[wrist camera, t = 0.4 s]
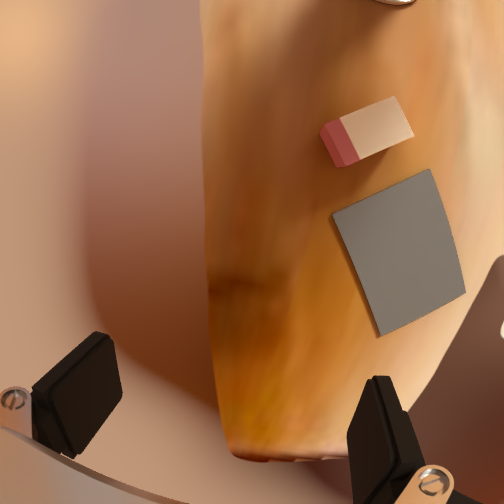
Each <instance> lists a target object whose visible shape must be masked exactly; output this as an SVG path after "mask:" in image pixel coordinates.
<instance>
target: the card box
mask: <svg viewBox="0 0 504 504" xmlns="http://www.w3.org/2000/svg"><path fill="white" fill-rule="evenodd" d="M319 135H320V137H321V138H322V140H323V142H324V144H325V146H326V148H327V150H328V152H329V154H330V156H331V158H332V160H333V162H334V164H335V166H336V168H339V167H346V166H348V165H351V164H353V163H355V162H357V161H359V160H361V159H363V158H365V157H368V156H370V155H372V154H374V153H377V152H379V151H381V150H383V149H386V148H388V147H390V146H392V145H395V144H397V143H399V142H402V141H404V140H406V139H409V138H411V137H413V136H414V134H413V132H412V130H411V128H410V126H409V124H408V121H407V119H406V117H405V115H404V113H403V111H402V109H401V107H400V105H399V104H398V102H397V100H396V98H395V96H392V97H389V98H387V99H384V100H382V101H379V102H376V103H374V104H371V105H369V106H367V107H364V108H362V109H359V110H357V111H354V112H352V113H350V114H347V115H345V116H343V117H340V118H337V119H335V120H333V121H331V122H328V123H326V124H324V126H323V128H322V129H321V131H320V133H319Z"/></svg>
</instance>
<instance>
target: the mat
mask: <svg viewBox="0 0 504 504" xmlns="http://www.w3.org/2000/svg"><path fill="white" fill-rule="evenodd" d="M332 216H333V218H334V220H335V223H336V225H337V227H338V229H339V232H340V234H341V236H342V238H343V241H344V243H345V245H346V248H347V250H348V252H349V255H350V257H351V260H352V262H353V264H354V267H355V269H356V272H357V274H358V277H359V279H360V282H361V284H362V287H363V289H364V292H365V294H366V297H367V300H368V302H369V305H370V308H371V310H372V313H373V316H374V318H375V321H376V324H377V327H378V329H379V332H380V335H381V336H383V335H385V334H387V333H389V332H391V331H393V330H396V329H398V328H400V327H402V326H404V325H406V324H408V323H410V322H412V321H414V320H416V319H418V318H420V317H422V316H424V315H426V314H428V313H430V312H432V311H434V310H435V309H437V308H439V307H441V306H443V305H445V304H446V303H448V302H450V301H452V300H454V299H455V298H457V297H459V296H461V295H462V294H464V293H466V291H465V286H464V281H463V276H462V271H461V267H460V263H459V259H458V255H457V251H456V247H455V243H454V239H453V236H452V232H451V229H450V226H449V222H448V219H447V216H446V213H445V209H444V206H443V203H442V200H441V198H440V195H439V192H438V189H437V186H436V184H435V181H434V178H433V176H432V173H431V170H430V169H427V170H425V171H423V172H421V173H418V174H416V175H414V176H412V177H410V178H408V179H406V180H403V181H401V182H399V183H397V184H395V185H393V186H391V187H389V188H386V189H384V190H382V191H380V192H378V193H376V194H374V195H371V196H369V197H367V198H365V199H363V200H361V201H359V202H356V203H354V204H352V205H350V206H348V207H346V208H344V209H341V210H339V211H337V212H335V213H333V214H332Z"/></svg>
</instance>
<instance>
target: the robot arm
mask: <svg viewBox="0 0 504 504" xmlns="http://www.w3.org/2000/svg"><path fill="white" fill-rule="evenodd" d="M376 1H379V2H382V3H387V4H394V5H402V4H408V3H411V2H413V1H415V0H376ZM32 390H33V391H32V392H31V393H29V391H28V390H26V389H25V388H22V387H10V388H8V389H5V390H4V391H2V392H1V394H0V504H188V503H184V502H180V501H176V500H173V499H169V498H166V497H163V496H159V495H156V494H153V493H150V492H147V491H144V490H141V489H138V488H135V487H133V486H130V485H127V484H125V483H122V482H119V481H117V480H114V479H112V478H109V477H107V476H105V475H102V474H100V473H98V472H95V471H93V470H91V469H89V468H87V467H85V466H82V465H80V464H78V463H76V462H74V461H72V460H70V459H68V458H66V457H64V456H62V455H60V454H61V452H62V454H64V455H66V456H67V457H69V458H71V459H74V458H75V457H76V455H77V454H81V453H82V452H83V451H84V449H85V448H86V447H87V445H88V444H89V442H90V441H91V440H92V438H93V437H94V436H95V434H96V433H97V431H98V430H99V429H100V427H101V426H102V425H103V423H104V422H105V420H106V419H107V418H108V416H109V415H110V414H111V412H112V411H113V410H114V408H115V407H116V405H117V404H118V403H119V401H120V400H121V398H122V393H123V392H122V387H121V382H120V377H119V371H118V366H117V360H116V354H115V348H114V342H113V340H112V339H111V338H110V336H109V335H108V334H104V333H101V332H97V331H95V332H93V333H92V334H91V335H90V336H89V337H87V338H86V339H85V340H84V341H83V342H82V343H80V344H79V345H78V346H77V347H76V348H75V349H74V350H72V351H71V352H70V353H69V354H68V355H67V356H65V357H64V358H63V359H62V360H61V361H60V362H59V363H58V364H56V365H55V366H54V367H53V368H52V369H51V370H50V371H49V372H48V373H46V374H45V375H44V376H43V377H42V378H41V379H40V380H39V381H38V382H37V383H35V384H34V385H33V386H32ZM347 445H348V454H349V463H350V472H351V481H352V493H353V504H482V503H480V502H477V501H475V500H473V499H471V498H469V497H467V496H465V495H463V494H461V493H459V492H457V491H455V490H453V487H454V480H453V477H452V475H451V474H450V473H449V471H448V470H446V469H445V468H443V467H440V466H437V465H428V466H426V465H425V461H424V458H423V455H422V453H421V449H420V446H419V443H418V440H417V438H416V435H415V432H414V429H413V427H412V423H411V421H410V418H409V415H408V413H407V412H406V411H403V410H402V407H401V405H400V402H399V399H398V396H397V394H396V391H395V388H394V386H393V383H392V381H391V378H390V376H373V377H372V379H368V380H367V382H366V384H365V387H364V390H363V393H362V395H361V398H360V401H359V403H358V406H357V408H356V411H355V413H354V416H353V418H352V421H351V423H350V426H349V428H348V431H347Z"/></svg>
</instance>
